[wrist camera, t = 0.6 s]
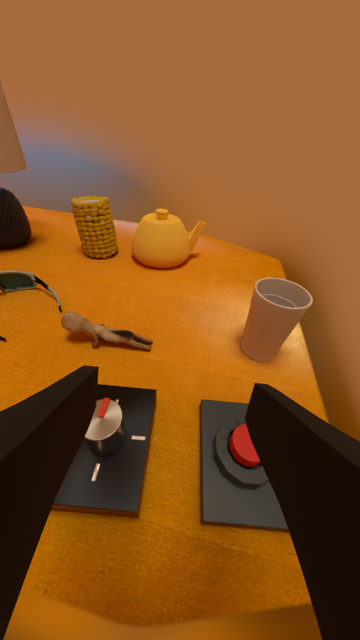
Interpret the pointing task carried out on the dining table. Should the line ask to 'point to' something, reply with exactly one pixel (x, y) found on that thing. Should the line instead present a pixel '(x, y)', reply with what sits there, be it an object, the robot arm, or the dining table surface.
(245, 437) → the switch button
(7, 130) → the lamp
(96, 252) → the food
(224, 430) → the switch block
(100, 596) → the dining table surface
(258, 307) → the cup
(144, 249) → the teapot
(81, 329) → the figurine
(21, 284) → the sunglasses
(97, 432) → the dimmer knob
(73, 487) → the dimmer panel
